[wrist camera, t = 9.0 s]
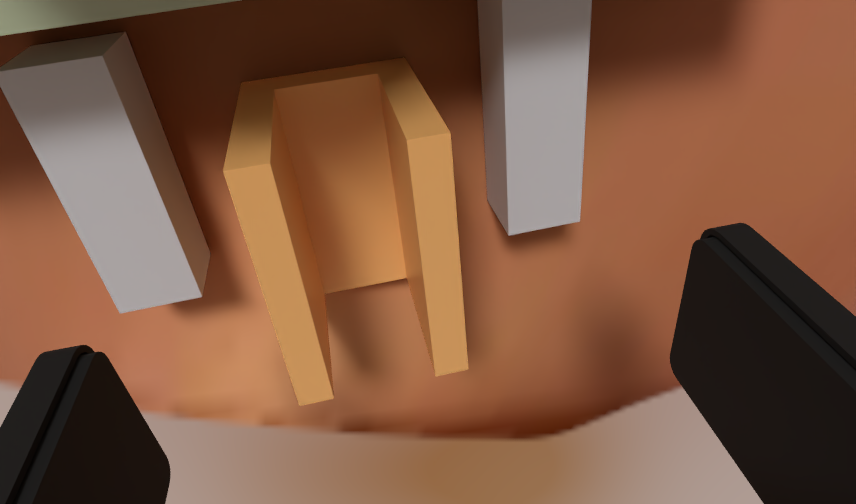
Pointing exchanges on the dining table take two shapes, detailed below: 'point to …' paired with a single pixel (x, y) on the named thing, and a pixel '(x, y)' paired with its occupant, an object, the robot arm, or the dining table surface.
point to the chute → (346, 206)
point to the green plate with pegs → (159, 175)
